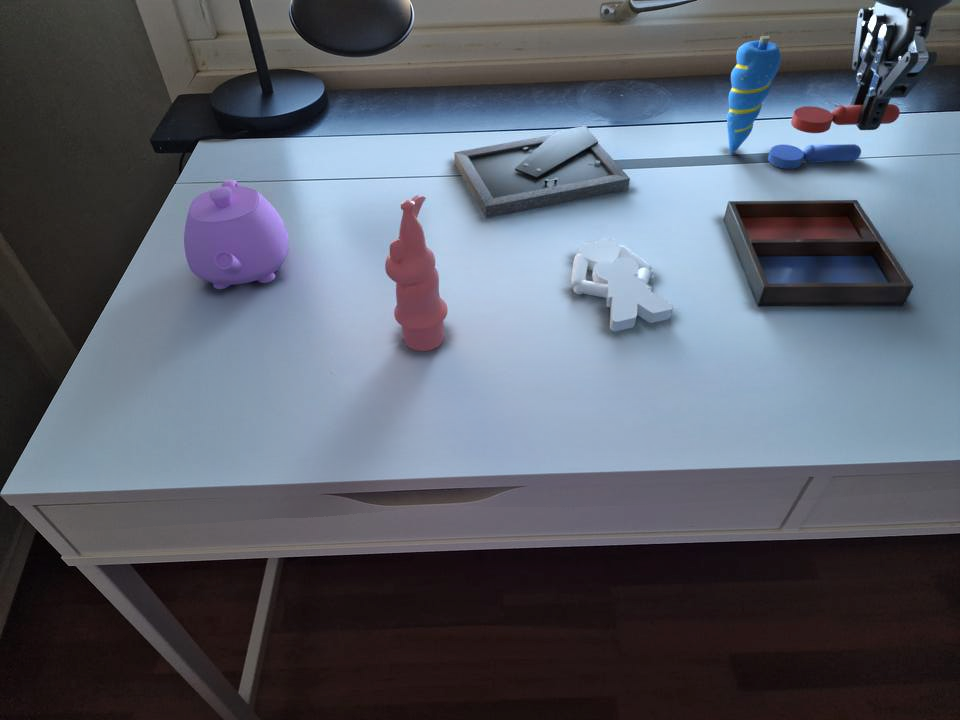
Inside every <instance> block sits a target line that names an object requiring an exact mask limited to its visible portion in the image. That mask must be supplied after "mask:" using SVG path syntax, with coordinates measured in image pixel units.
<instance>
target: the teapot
mask: <svg viewBox="0 0 960 720" xmlns="http://www.w3.org/2000/svg"><path fill="white" fill-rule="evenodd" d="M183 245H184V246H183V247H184V254H185V259H186V262H187V265H188V268H189V270H190V271H191V272H192V273H193V274H194V275H195V276H196V277H198V278H200V279H202V280H204V281H207V282H209V283H212V284H213V288H215V289H216V290H217V289H218V290H224V289H226V288H228V287H230V286H231V285H241V284H247V283H252V282H255V281H257V282H258V283H262V284H268V283H270V282H272V281H274V280H275V278H276V272H277V270H279V269H280V268H281V266H282V264H283V263H284V262H285V259H286V257H287V255H288V251H289V245H290V237H289V233H288V230H287V227H286V225H285V223H284V221H283V219H282V217H281V215H280V214H279V212H278V211H277V210H276V209H275V207H274V206H273V205H272V204H271V203H270V202H269V200H267V199H266V198H265V197H264V196H263V195H262V194H261V193H260V192H258V190H255V188H251V187H248V186H240V185H239V183H238V181H236V180H234V179H226V180H224V181H223V182H222V183H221V186H219V187H216V188H213V189H211V190H207V191H205V192H202V193H200V194H199V195H197V196H196V197H195V198H194V199H193V200H192V201H191V203H190V205H189V209H188V212H187V216H186V220H185V225H184V233H183Z"/></svg>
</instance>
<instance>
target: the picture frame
mask: <svg viewBox="0 0 960 720" xmlns="http://www.w3.org/2000/svg"><path fill="white" fill-rule="evenodd" d="M453 155H454V156H453V157H454V165H455V166H456V168H457V170H458V172H459V173H460V175H461V177H462V179H463V180H464V182H465V184H466V186H467V187H468V189H469V191H470V193H471V195H472V196H473V198H474V200H475V201H476V204H477V205H478V206H479V208H480V211H481V212H482V214H483V215H484V217H485V219H489V218H490V219H491V218H495V217H499V216H504V215H509V214H515V213H520V212H525V211H529V210H534V209H540V208H545V207H551V206H554V205H560V204H566V203H569V202H575V201H579V200H583V199H584V200H585V199H589V198H596V197H600V196H605V195H609V194H615V193H620V192H624V191H628V190H629V187H630V181H631V178H630V177H629V176H628V174H627V173H626V172H625V171H624V170H623V169H622V168H621V167H620V165H619V164H617V162H616V161H615V160H614V159H613V158H612V157H611V155H610V154H609V153H608V152H607V151H606V150H605V149H604V148H603V147H602V146H601V144H599V140H598V139H597V138H596V136H594V135H593V133H592V132H591V131H590V129H589V128H588V127H587V126H586V125H582V126H577V127H571V128H565V129H560V130H555V131H554V132H553V133H552V134H549V135H544V136H536V137H531V138H527V139H521V140H516V141H509V142H503V143H498V144H494V145H493V144H492V145H487V146H481V147H476V148H471V149H464V150H459V151H455V152H453Z"/></svg>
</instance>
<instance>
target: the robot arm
mask: <svg viewBox="0 0 960 720" xmlns="http://www.w3.org/2000/svg"><path fill="white" fill-rule="evenodd" d="M873 1H874V2H875V3H874V6H873V7H868V8H867V7H866V8H860V9H859V11H858V13H857V20H856V27H855V37H854V45H853V52H852V53H853V54H852V61H851V63H852V64H851V68H852V70H853V71H856V70H857V72H856V75H855V81H856V83H857V85H856V88H855V92H854V94H853V97H852V100H851V102H850V105H863V106H862V109H861V112H860V115H859V118H858V121H857V123H856V125H855V126H856V127H857V129H858V130H859V131H875V130H878V129H879V128H880V126H881V125H882V124H881V121H882V119H883V116H884V114H885V111H886V109H887V106H888V104H890V101H891V99H896V98H897V99H900V98H901V99H902V98H906V97H907V96H908V95H909V94H910V93H911V91H912V90H913V89H914V88H915V87H916V86H917V84H919V82H920V81H921V80H922V78H924V76H925V75H926V74H927V73H928V72H929V70H930V69H931V68H932V67H933V66H934V64H935V63H936V61H937V58H938V53H937V51H936V50H932V51H931V50H930V51H929V50H927V46H926V42H925V40H926V39H927V38H928V36H929V34H930V32H931V25H932V20H933V16H934V14H935V13H936V11H938V10H939V9H941V8H944V7H946V6H948V5H949V4H951V3H952V2H953V1H954V0H873ZM886 75H888V76H887V77H886ZM885 77H886V78H885Z"/></svg>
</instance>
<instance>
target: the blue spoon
mask: <svg viewBox="0 0 960 720" xmlns="http://www.w3.org/2000/svg"><path fill="white" fill-rule="evenodd" d="M861 154H862V149H861V147H860V146H859V145H857V144H852V143H850V144H849V143H848V144H846V143H845V144H809V145H807V146H806V147H804V149H803V150H802V149H800V148H799V147H797V146H795V145H791V144H777V145H773V146H772V147H771V148H770V150H769V153H768V157H767V161H768V162H769V163H770V164H771V165H772V166H773V167H777V168H780V169H784V170H785V169H786V170H792V169H797V168H799V167H801V166H802V163H803V160H804V161H806V162H810V163H811V162H812V163H813V162H815V163H818V162H819V163H820V162H854V161H857V160H858V159H859V158H860V157H861V156H862V155H861Z"/></svg>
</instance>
